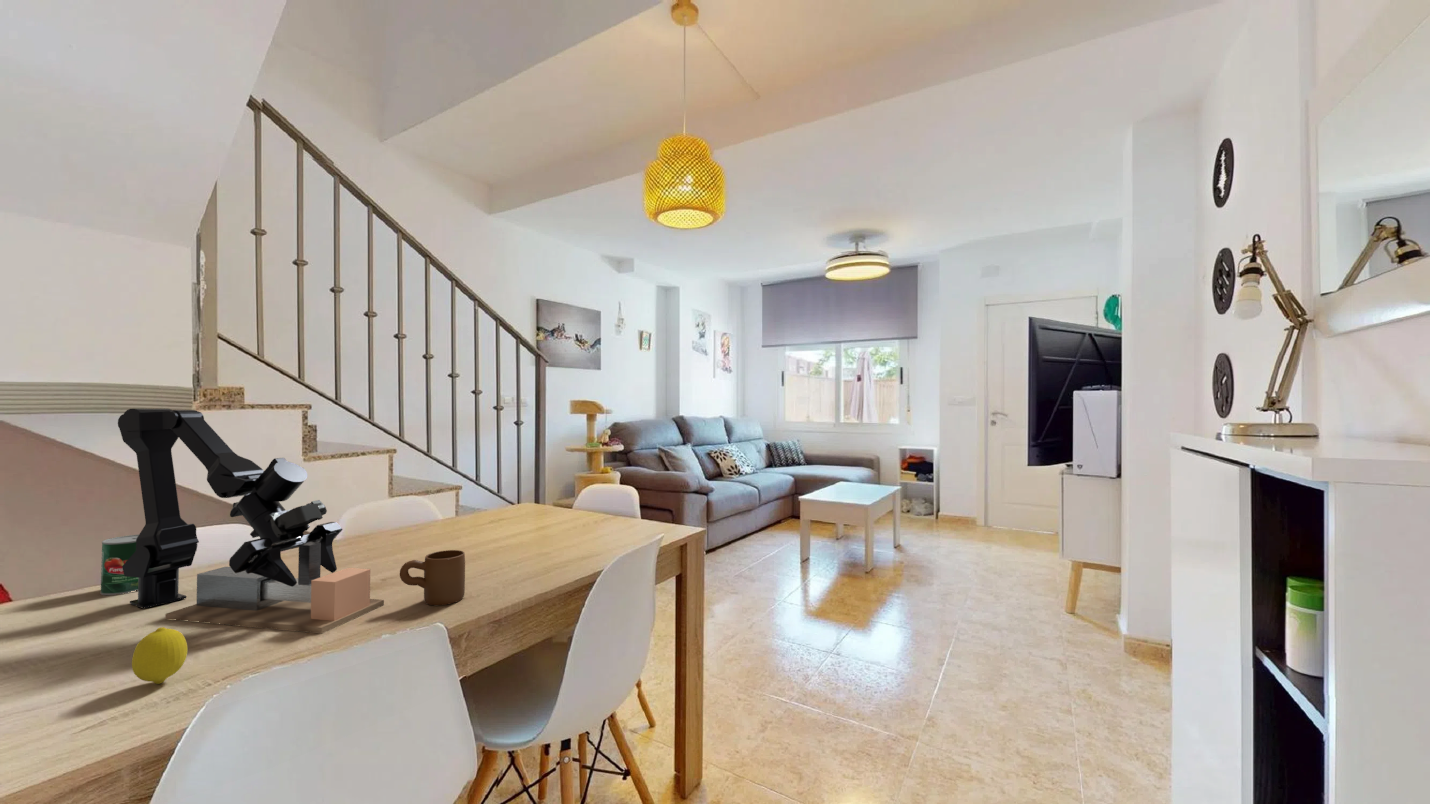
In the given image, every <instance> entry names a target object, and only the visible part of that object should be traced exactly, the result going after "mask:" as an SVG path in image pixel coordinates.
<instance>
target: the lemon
mask: <svg viewBox="0 0 1430 804" xmlns="http://www.w3.org/2000/svg"><path fill="white" fill-rule="evenodd" d="M132 654H133V655H132V659H131V668H132V672H133V673H134V675H135V676H136V677H137V678H138V679H139V680H142V681H144V682H151V683H154V684H155V685H160V684H162V683H164V682H165V681H166V680H167V679H169V678H170V677H171V676H174V675H175V674H176V673H177V672H178V671H179V670H180V669H181V668H182V667H183V666H184V663H185V661H186V659H187V657H188V656H187V655H188V643H187V640H186V637H185V636H184V634H183V633H182V632H180V630H177V629H174V628H166V627H164V626H161V627H158V628H157V629H155V631H152V632H150V633H148V634H146V635H144V637H143V638H142V639H141V640H139V642H138V643H137V645H136V646H135V648H134V651H133V653H132Z"/></svg>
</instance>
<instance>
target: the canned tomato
mask: <svg viewBox="0 0 1430 804" xmlns="http://www.w3.org/2000/svg"><path fill="white" fill-rule="evenodd" d="M138 536H139V534H130V535H122V536H117V537H113V538H111V537H110V538H108V539H104V540H102V541H101V564H100V565H101V572H100V592H99V593H100V595H101V596H117V595H116V594H119V595H124V594H123V593H126V594H129V593H128V592H131V591H135V590H138V577H126V576H124V572H123V568H122V566H123V565H124V564H125V563H126V561H127V560H128V559H129V558H130V557H131V556H132V555H133V553H134V552H135V551H136V539H137V537H138Z"/></svg>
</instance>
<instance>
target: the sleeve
mask: <svg viewBox="0 0 1430 804" xmlns="http://www.w3.org/2000/svg"><path fill="white" fill-rule="evenodd" d="M264 579H268V578H267V577H264V576H261V575H257V574H254V573H249V574H247V573H246V571H242V572H239V573H235V572H234V571H233V570H232V569H231V567H230V566H223V567H218V568H215V569H211V570H207V571H204V572H201V573H200V572H199V573H197V574H196V603H195V604H196V606H206V607H218V608H230V609H242V610H253V611H257V610H260V609H263V608H266V607H268V606H271V605H274V604H277V603H279V602H282V600H270V599H260V581H261V580H264Z"/></svg>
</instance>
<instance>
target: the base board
mask: <svg viewBox="0 0 1430 804" xmlns="http://www.w3.org/2000/svg"><path fill="white" fill-rule="evenodd" d="M384 605H385V600H384V599H375V598H370V605H369V606H367V607H364V608H362V609H360V610H358V611H355V612H353V613H351V614H349V615H346V616H344V617H342V618H340V619H337V620H335V621H330V620H319V619H311V603H307V602H295V601H282V602H279V603H277V604H274V605H271V606H268V607H266V608H263V609H260V610H257V611H253V610H242V609H230V608H218V607H206V606H196V603H195V604H192V605H189V606H186V607H182V608H179V609H176V610H173V611H170V612H166V613H165V614H164V615H165V617H164V619H165V620H169V619H176V620H175V621H180V620H188V621H187V622H191V621H199V622H198V623H202V622H210V623H209V624H213V623H218V624H217V625H224V624H230V625H229V626H235V625H240V626H239V627H246V626H248V628H260V629H269V630H281V631H293V632H303V633H304V632H305V633H314V634H323V633H325V632H329V631H330V630H332V629H335V628H337V627H339V626H341V625H343V624H345V623H348V622H350V621H351V620H352V621H353V620H354V619H356V618H358V617H361V616H363V615H365V614H367V613H369V612H371V611H374V610H375V609H378V608H380V607H383V606H384ZM219 623H220V624H219Z"/></svg>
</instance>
